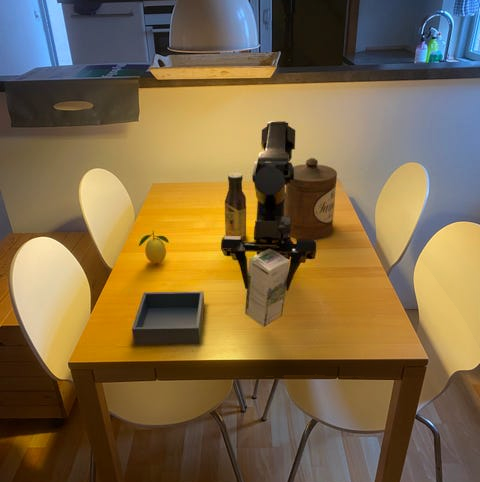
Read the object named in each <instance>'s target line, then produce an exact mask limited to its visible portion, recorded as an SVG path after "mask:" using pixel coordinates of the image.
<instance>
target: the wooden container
mask: <svg viewBox="0 0 480 482" xmlns="http://www.w3.org/2000/svg"><path fill="white" fill-rule="evenodd" d="M292 166H293V167H294V180H291V183H287V185H285V193H286V197H285V217H291V233H288V236H291V237H293V238H296V239H297V238H303V239H314V240H318V239H322V238H325V237H328V236H329V235H331V233H332V231H333V224H334V215H335V203H336V189H337V187H336V185H337V179H338V171H337V170H336V169H335V168H333V167H331V166H328V165H323V164H319V163H318V159H316V158H315V157H310V158H307V160H306V161H305V164H297V165H292Z"/></svg>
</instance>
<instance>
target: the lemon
mask: <svg viewBox="0 0 480 482" xmlns="http://www.w3.org/2000/svg"><path fill="white" fill-rule="evenodd" d="M151 236H152V238H151ZM150 238H151V239H150ZM148 239H149V240H148ZM147 240H148V241H147ZM146 241H147V242H146ZM145 242H146V244H145V250H144V251H145V252H144V253H145V256H146V258H147V260H148V261H149V262H151V263H155V264H159V263H161V262H162V261H164V260H165V258H166V255H167V248H166V245H165V244H164V242H165V243H170V242H169V239H168V237H166V236H165V235H155V231H154V230H152V234H147V235H144V236H143V237H142V238H141V239H140V241H139V243H138V247H140V246H142V245H143V244H144V243H145Z"/></svg>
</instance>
